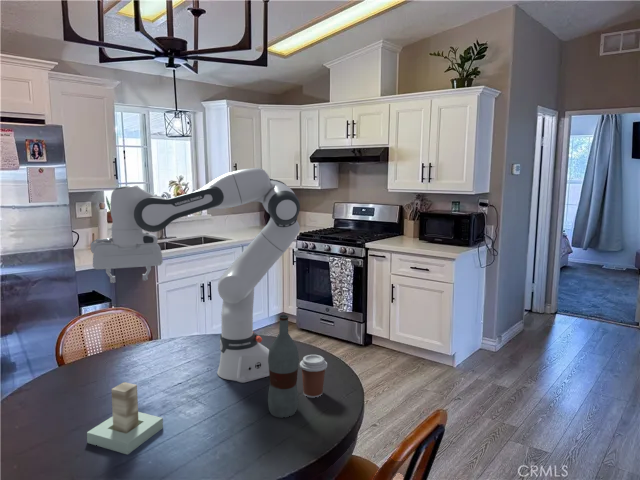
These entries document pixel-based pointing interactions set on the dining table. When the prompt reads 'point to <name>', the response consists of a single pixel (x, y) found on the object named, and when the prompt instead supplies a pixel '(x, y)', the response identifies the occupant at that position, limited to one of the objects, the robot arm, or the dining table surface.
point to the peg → (125, 407)
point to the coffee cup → (313, 375)
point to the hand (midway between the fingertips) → (129, 281)
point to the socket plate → (122, 441)
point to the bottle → (283, 373)
